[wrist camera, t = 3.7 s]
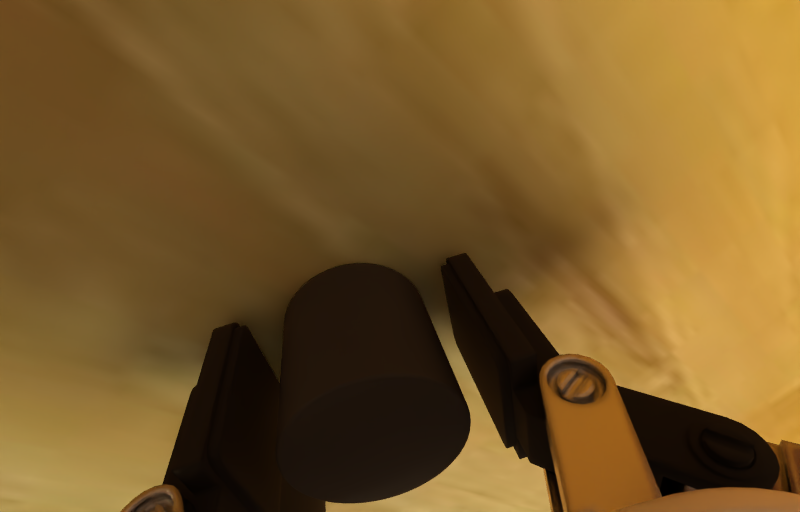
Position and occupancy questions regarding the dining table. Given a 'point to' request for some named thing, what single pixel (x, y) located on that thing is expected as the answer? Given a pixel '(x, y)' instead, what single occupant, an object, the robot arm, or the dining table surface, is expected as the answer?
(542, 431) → the robot arm
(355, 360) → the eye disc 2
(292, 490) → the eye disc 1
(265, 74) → the dining table surface
